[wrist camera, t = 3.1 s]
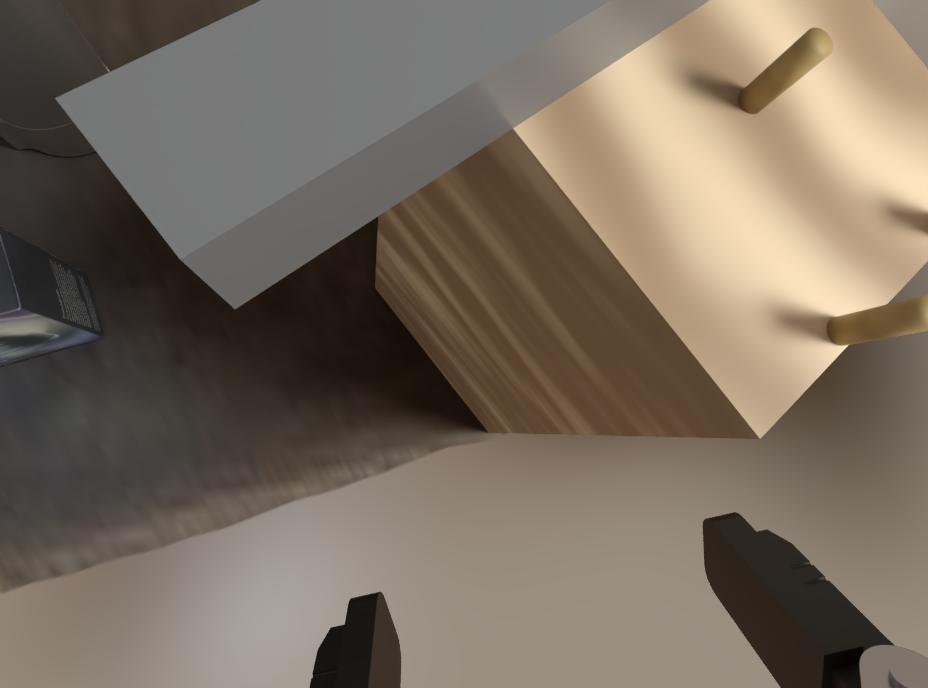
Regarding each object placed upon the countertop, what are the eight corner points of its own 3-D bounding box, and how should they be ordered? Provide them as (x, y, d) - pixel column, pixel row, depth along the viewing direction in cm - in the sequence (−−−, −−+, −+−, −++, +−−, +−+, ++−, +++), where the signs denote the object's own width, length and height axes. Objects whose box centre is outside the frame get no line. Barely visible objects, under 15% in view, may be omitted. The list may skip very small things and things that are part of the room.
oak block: (488, 432, 45) (844, 440, 11) (374, 287, 45) (393, -123, 12) (600, 336, 48) (1114, 130, 15) (495, 203, 49) (771, -286, 15)
